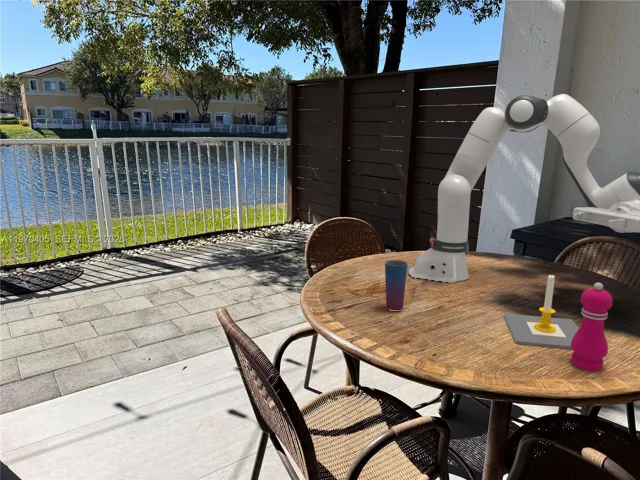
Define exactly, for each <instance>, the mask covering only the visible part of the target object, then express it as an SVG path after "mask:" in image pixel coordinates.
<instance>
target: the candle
mask: <svg viewBox="0 0 640 480" xmlns="http://www.w3.org/2000/svg"><path fill="white" fill-rule="evenodd" d="M555 278H556V277H555V275H553V273H552V274H549V275H548V276H547V280H546V281H547V282H546V290H545V295H544V297H545V298H544V303H543V307H539V309H538V310H539V311H540V312H541V317H542V318H540V319H539V321H540V322H541V323H536V324H535V325H534V327H535V329H537V330H539V331H542V332H547V333H552V332H555V331H556V328H555V327H554V326H552V325H550V324H552V322H553V321H552V320H551V318H552V314H555V313H556V310H555V309H553V308H552V304H553V296H554V295H553V294H554V287H555Z"/></svg>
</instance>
